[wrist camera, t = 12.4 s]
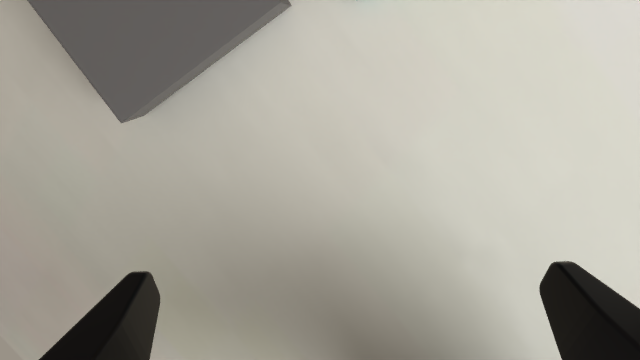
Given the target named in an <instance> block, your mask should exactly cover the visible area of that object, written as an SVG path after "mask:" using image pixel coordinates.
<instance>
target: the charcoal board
mask: <svg viewBox="0 0 640 360" xmlns="http://www.w3.org/2000/svg"><path fill="white" fill-rule="evenodd" d="M28 2H29V3H30V4H31V6H32V7H33V8H34V10H35V11H36V12H37V13H38V15H39V16H40V17H41V19H42V20H43V21H44V23H45V24H46V25H47V27H48V28H49V29H50V31H51V32H52V33H53V34H54V36H55V37H56V38H57V40H58V41H59V42H60V44H61V45H62V46H63V48H64V49H65V50H66V52H67V53H68V54H69V56H70V57H71V58H72V59H73V61H74V62H75V63H76V65H77V66H78V67H79V69H80V70H81V71H82V73H83V74H84V75H85V77H86V78H87V79H88V80H89V82H90V83H91V84H92V86H93V87H94V88H95V90H96V91H97V92H98V94H99V95H100V96H101V98H102V99H103V100H104V101H105V103H106V104H107V105H108V107H109V108H110V109H111V111H112V112H113V113H114V115H115V116H116V117H117V119H118V120H119V121H120V122H121V123H124V122H127V121H130V120H132V119H135V118H138V117H141V116H144V115H145V114H147V113H148V112H149V111H151V110H152V109H153V108H155V107H156V106H157V105H159V104H160V103H161V102H163V101H164V100H166V99H167V98H168V97H170V96H171V95H172V94H174V93H175V92H176V91H178V90H179V89H180V88H182V87H183V86H184V85H186V84H187V83H188V82H190V81H191V80H192V79H194V78H195V77H196V76H198V75H199V74H200V73H202V72H203V71H204V70H206V69H207V68H208V67H210V66H211V65H212V64H214V63H215V62H216V61H218V60H219V59H220V58H222V57H223V56H224V55H226V54H227V53H228V52H230V51H231V50H232V49H234V48H235V47H236V46H238V45H239V44H240V43H242V42H243V41H244V40H246V39H247V38H249V37H250V36H251V35H253V34H254V33H255V32H257V31H258V30H259V29H261V28H262V27H263V26H265V25H266V24H267V23H269V22H270V21H271V20H273V19H274V18H275V17H277V16H278V15H279V14H281V13H282V12H283V11H285V10H286V9H287V8H289V7H290V6H291V4H290V2H289V1H288V0H28Z"/></svg>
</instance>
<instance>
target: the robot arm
mask: <svg viewBox="0 0 640 360" xmlns="http://www.w3.org/2000/svg"><path fill="white" fill-rule="evenodd" d="M540 295H541V299H542V302H543V305H544V308H545V311H546V314H547V317H548V320H549V323H550V326H551V329H552V332H553V335H554V338H555V341H556V344H557V347H558V350H559V352H560V355H561V358H562V360H640V309H639V308H638V307H636V306H635V305H634V304H632V303H631V302H629V301H628V300H626V299H625V298H624V297H622V296H621V295H619V294H618V293H617V292H615V291H614V290H612V289H611V288H610V287H608V286H607V285H605V284H604V283H603V282H601V281H600V280H598V279H597V278H595V277H594V276H593V275H591V274H590V273H588V272H587V271H586V270H584V269H583V268H581V267H580V266H579V265H577V264H575V263H573V262H569V261H563V262H553V263H552V264H551V265H550V266H549V268H548V270H547V272H546V274H545V276H544V278H543V279H542V281H541V283H540ZM159 306H160V294H159V291H158V288H157V286H156V284H155V281H154V279H153V276H152V274H151V273H150V272H147V271H143V272H131V273H129V274H128V275H126V276H125V277H124V278H123V279H122V280H121V281H120V282H119V283H118V284H117V285H116V286H115V287H114V288H113V289H112V290H111V291H110V292H109V293H108V294H107V295H106V296H105V297H104V298H103V299H102V300H100V301H99V302H98V303H97V304H96V305H95V306H94V307H93V308H92V309H91V310H90V311H89V312H88V313H87V314H86V315H85V316H84V317H83V318H82V319H81V320H80V321H79V322H78V323H77V324H76V325H75V326H73V327H72V328H71V329H70V330H69V331H68V332H67V333H66V334H65V335H64V336H63V337H62V338H61V339H60V340H59V341H58V342H57V343H56V344H55V345H54V346H53V347H52V348H51V349H50V350H49V351H47V352H46V353H45V354H44V355H43V356H42V357H41V358H40V359H39V360H149V359H150V354H151V349H152V343H153V338H154V333H155V328H156V322H157V317H158V312H159Z"/></svg>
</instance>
